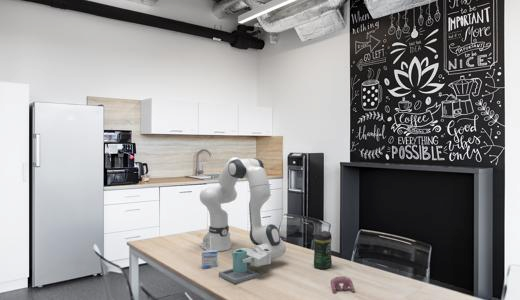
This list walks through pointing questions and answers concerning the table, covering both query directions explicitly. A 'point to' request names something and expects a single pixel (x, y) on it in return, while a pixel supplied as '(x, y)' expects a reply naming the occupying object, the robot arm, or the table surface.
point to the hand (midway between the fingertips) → (238, 259)
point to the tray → (238, 276)
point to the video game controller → (339, 280)
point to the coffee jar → (322, 250)
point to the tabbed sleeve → (239, 261)
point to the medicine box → (209, 259)
